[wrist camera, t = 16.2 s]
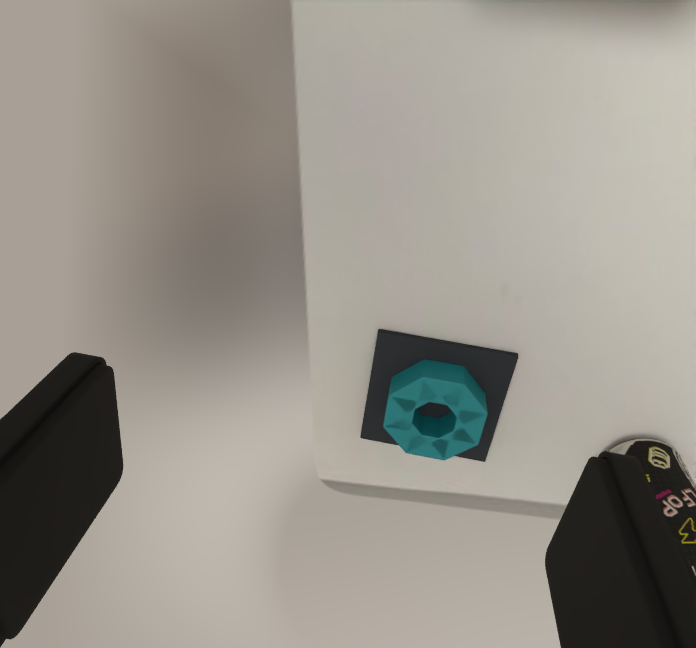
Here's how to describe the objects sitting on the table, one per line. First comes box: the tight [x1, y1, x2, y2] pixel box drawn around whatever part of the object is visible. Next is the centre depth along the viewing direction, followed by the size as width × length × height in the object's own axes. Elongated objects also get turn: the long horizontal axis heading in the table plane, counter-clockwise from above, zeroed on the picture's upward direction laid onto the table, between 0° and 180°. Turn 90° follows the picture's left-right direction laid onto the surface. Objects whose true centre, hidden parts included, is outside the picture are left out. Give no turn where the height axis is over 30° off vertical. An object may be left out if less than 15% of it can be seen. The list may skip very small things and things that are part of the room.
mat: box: [361, 329, 518, 462], centre depth 43 cm, size 10×10×1 cm
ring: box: [383, 359, 488, 460], centre depth 42 cm, size 7×7×2 cm
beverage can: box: [609, 439, 696, 575], centre depth 38 cm, size 6×6×12 cm
